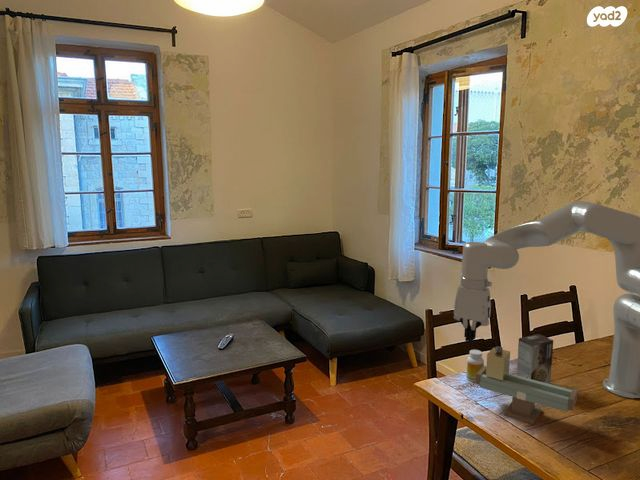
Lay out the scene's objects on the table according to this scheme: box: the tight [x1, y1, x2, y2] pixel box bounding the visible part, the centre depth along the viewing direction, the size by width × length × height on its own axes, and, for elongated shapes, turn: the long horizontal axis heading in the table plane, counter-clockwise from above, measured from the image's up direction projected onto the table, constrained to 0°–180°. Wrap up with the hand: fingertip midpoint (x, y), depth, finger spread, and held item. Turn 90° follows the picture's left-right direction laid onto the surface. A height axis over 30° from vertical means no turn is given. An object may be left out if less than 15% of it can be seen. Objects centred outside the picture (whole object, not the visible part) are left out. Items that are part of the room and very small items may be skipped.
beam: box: [475, 365, 579, 425], centre depth 142 cm, size 26×9×10 cm, turn 53°
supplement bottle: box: [466, 349, 485, 383], centre depth 163 cm, size 5×5×10 cm
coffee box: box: [515, 333, 554, 384], centre depth 158 cm, size 9×6×16 cm
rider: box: [485, 345, 511, 381], centre depth 145 cm, size 5×6×10 cm
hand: (469, 340), depth 149 cm, fingers closed
